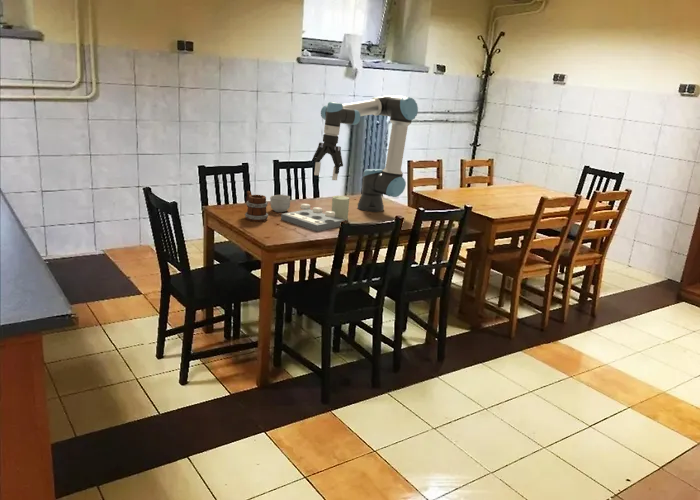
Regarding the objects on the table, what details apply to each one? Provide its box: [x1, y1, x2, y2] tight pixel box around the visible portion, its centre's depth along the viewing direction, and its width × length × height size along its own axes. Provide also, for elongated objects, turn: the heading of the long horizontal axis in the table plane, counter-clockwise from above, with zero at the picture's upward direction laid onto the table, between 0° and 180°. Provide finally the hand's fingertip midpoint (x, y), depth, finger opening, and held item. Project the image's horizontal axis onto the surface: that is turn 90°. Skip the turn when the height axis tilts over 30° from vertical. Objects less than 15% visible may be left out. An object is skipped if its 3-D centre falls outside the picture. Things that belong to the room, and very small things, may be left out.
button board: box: [280, 208, 346, 232], centre depth 304 cm, size 20×26×3 cm
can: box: [331, 195, 350, 221], centre depth 314 cm, size 9×9×12 cm
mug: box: [244, 190, 269, 223], centre depth 301 cm, size 12×14×15 cm
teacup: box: [269, 194, 291, 213], centre depth 323 cm, size 14×11×8 cm
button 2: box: [324, 210, 335, 217], centre depth 299 cm, size 5×5×2 cm
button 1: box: [300, 203, 311, 210], centre depth 310 cm, size 5×5×2 cm
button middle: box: [312, 206, 323, 213], centre depth 305 cm, size 5×5×2 cm
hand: (325, 177), depth 296 cm, fingers open, 13 cm apart
